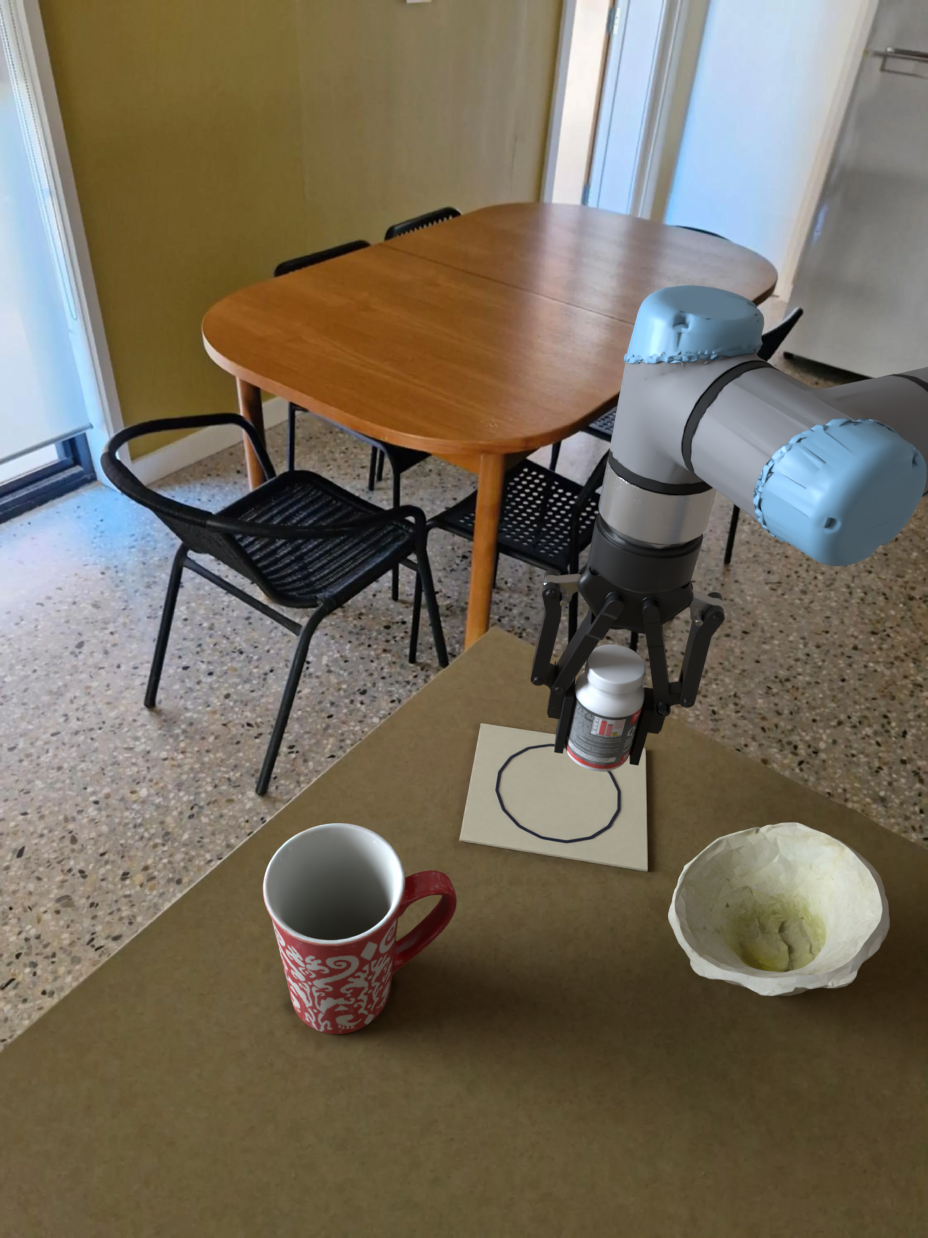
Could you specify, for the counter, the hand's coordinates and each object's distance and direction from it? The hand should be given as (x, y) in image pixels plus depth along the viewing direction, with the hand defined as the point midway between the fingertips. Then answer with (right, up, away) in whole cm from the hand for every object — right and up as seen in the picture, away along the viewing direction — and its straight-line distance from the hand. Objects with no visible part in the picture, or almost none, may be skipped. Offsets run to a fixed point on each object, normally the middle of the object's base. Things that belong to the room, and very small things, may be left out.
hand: (596, 747), depth 76 cm
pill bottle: (0, 0, 0) cm, 0 cm away
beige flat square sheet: (-3, -5, +4) cm, 7 cm away
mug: (-19, -16, -11) cm, 27 cm away
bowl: (+11, -15, -7) cm, 20 cm away
